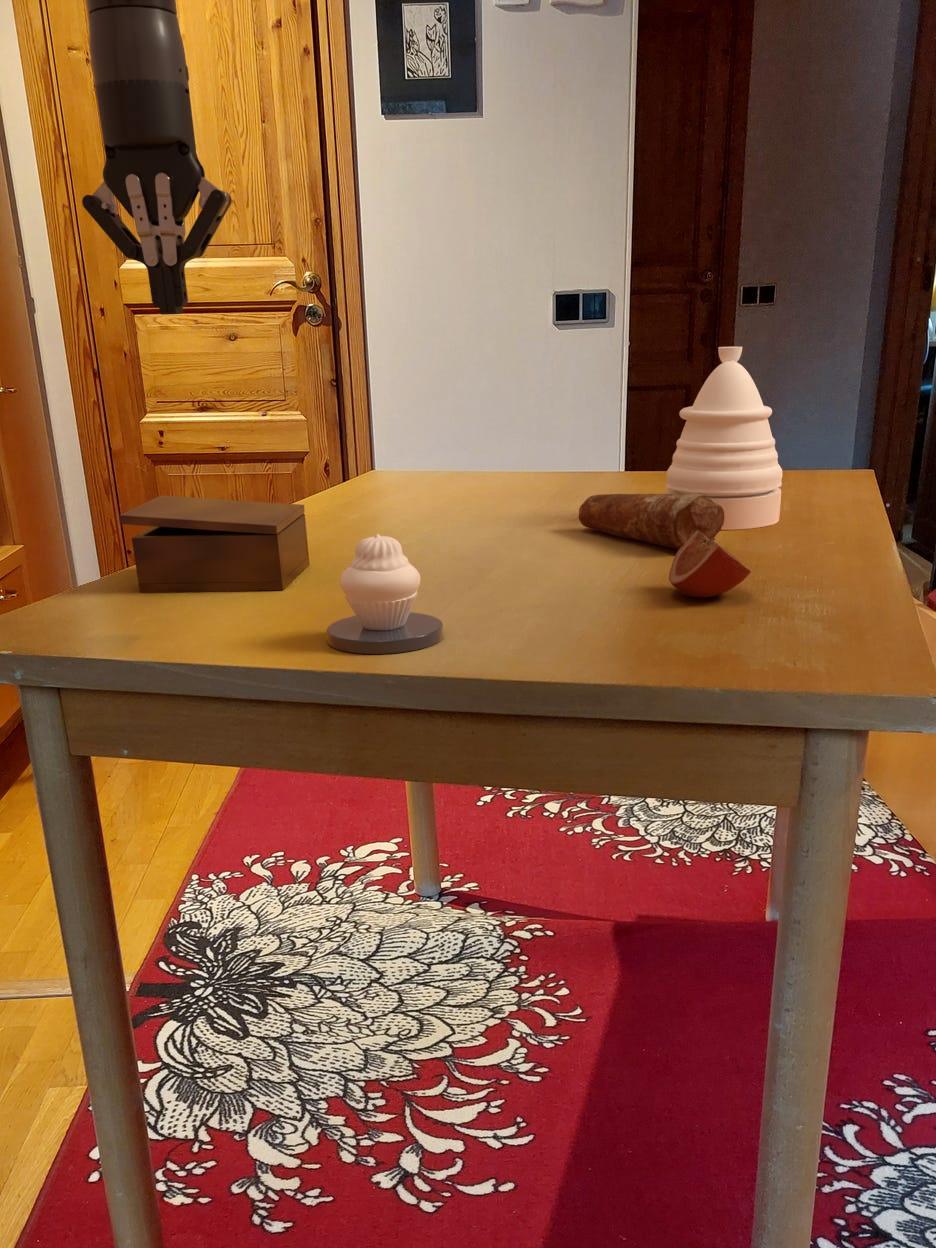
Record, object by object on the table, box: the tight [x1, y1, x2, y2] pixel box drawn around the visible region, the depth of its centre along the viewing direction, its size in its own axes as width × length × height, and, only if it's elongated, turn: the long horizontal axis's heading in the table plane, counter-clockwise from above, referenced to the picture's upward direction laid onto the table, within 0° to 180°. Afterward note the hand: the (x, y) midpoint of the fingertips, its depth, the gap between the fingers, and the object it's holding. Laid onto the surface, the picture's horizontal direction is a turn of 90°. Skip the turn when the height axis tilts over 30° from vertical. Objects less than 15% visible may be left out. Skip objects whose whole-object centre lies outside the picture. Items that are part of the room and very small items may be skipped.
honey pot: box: [664, 346, 783, 531], centre depth 129 cm, size 13×13×18 cm
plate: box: [326, 611, 444, 655], centre depth 91 cm, size 9×9×1 cm
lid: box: [118, 495, 305, 534], centre depth 111 cm, size 14×12×1 cm
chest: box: [131, 513, 311, 593], centre depth 112 cm, size 14×12×5 cm
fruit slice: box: [668, 530, 752, 598], centre depth 99 cm, size 8×7×5 cm
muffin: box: [339, 533, 421, 631], centre depth 89 cm, size 6×6×7 cm
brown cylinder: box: [578, 493, 725, 550], centre depth 123 cm, size 6×19×6 cm, turn 31°
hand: (172, 313), depth 104 cm, fingers closed
